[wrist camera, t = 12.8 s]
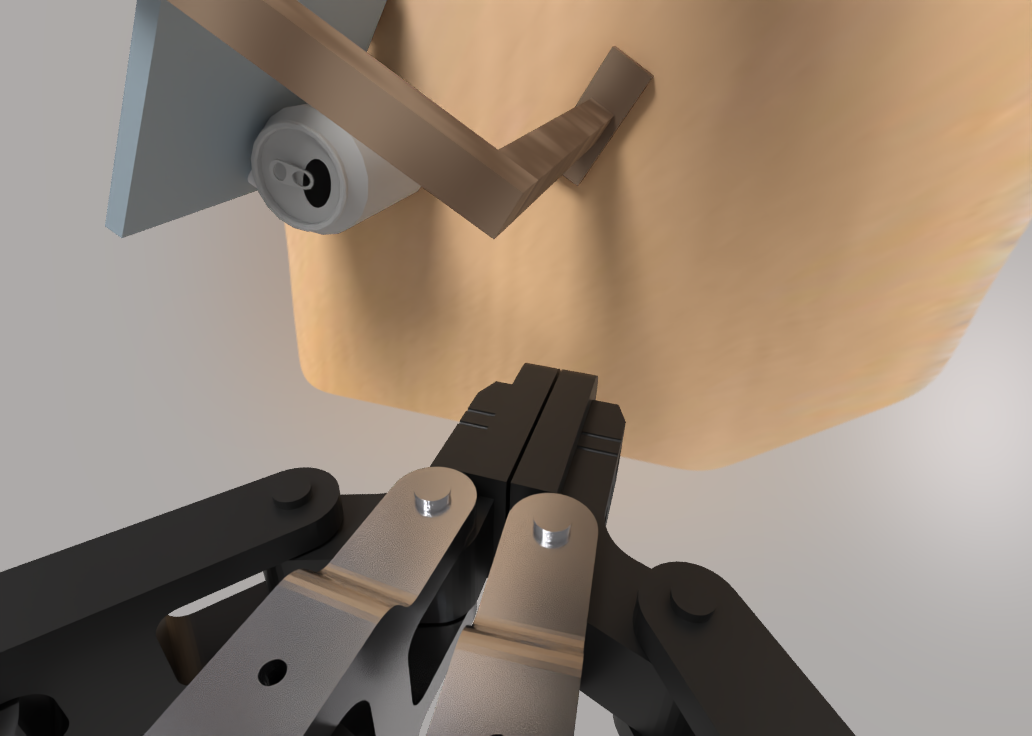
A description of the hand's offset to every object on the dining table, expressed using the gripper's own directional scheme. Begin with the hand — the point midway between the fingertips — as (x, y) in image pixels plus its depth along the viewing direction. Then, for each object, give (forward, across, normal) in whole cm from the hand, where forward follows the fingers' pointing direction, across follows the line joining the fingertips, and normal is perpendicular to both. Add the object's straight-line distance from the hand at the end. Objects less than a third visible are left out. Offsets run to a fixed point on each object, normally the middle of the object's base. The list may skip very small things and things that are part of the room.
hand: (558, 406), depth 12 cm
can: (+31, +20, +1) cm, 37 cm away
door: (+30, +22, -3) cm, 37 cm away
